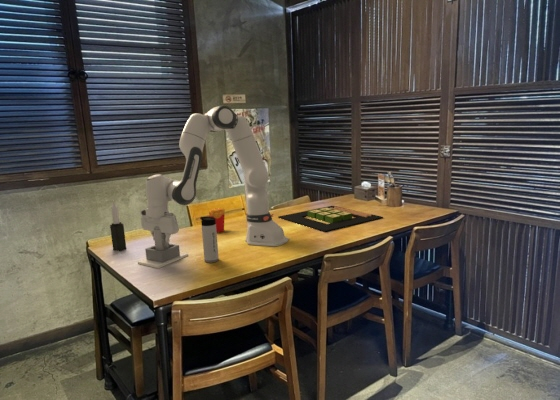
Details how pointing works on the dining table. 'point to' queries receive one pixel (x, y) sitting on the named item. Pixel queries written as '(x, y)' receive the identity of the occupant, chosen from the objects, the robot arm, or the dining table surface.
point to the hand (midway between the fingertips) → (161, 241)
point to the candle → (117, 230)
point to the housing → (162, 256)
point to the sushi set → (330, 218)
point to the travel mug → (209, 239)
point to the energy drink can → (160, 239)
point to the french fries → (218, 218)
